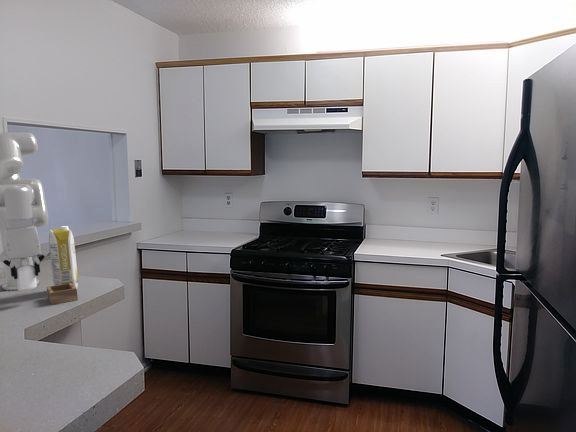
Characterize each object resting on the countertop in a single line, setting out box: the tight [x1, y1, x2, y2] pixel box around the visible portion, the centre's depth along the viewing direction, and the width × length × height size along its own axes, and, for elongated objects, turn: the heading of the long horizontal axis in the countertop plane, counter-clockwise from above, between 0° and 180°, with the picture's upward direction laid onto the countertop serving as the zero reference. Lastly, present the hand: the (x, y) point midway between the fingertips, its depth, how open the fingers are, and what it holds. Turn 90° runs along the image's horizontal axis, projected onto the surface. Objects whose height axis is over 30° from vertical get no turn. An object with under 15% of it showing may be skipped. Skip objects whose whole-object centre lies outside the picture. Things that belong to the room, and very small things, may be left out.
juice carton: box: [48, 225, 79, 289], centre depth 169 cm, size 9×8×24 cm
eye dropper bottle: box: [16, 257, 38, 292], centre depth 155 cm, size 4×6×12 cm
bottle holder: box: [46, 283, 79, 306], centre depth 160 cm, size 10×8×4 cm
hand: (26, 276), depth 155 cm, fingers closed on eye dropper bottle, 5 cm apart
